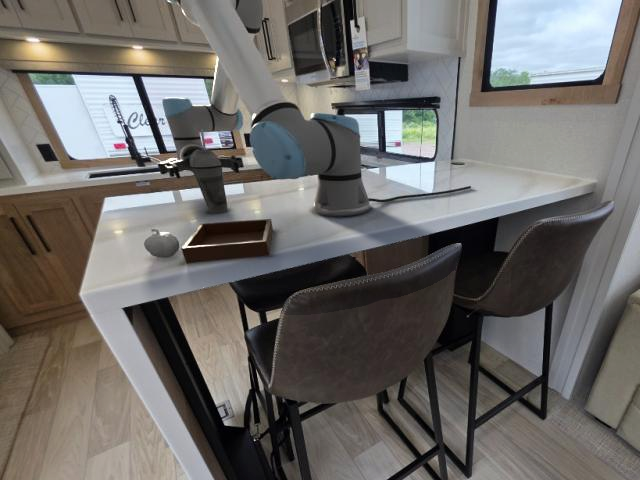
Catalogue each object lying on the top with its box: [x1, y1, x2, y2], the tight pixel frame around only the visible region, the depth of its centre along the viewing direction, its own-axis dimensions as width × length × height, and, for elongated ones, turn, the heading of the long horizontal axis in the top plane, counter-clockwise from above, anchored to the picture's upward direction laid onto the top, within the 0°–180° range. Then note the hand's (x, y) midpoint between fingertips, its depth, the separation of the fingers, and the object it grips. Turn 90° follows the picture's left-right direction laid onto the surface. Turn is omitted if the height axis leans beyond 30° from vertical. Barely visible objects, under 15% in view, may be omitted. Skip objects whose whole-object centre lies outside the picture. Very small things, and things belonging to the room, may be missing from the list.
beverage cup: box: [190, 129, 229, 214], centre depth 85 cm, size 7×7×20 cm
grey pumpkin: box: [143, 228, 180, 259], centre depth 63 cm, size 6×5×5 cm
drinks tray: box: [180, 218, 274, 264], centre depth 68 cm, size 15×15×3 cm
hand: (208, 169), depth 83 cm, fingers open, 13 cm apart
